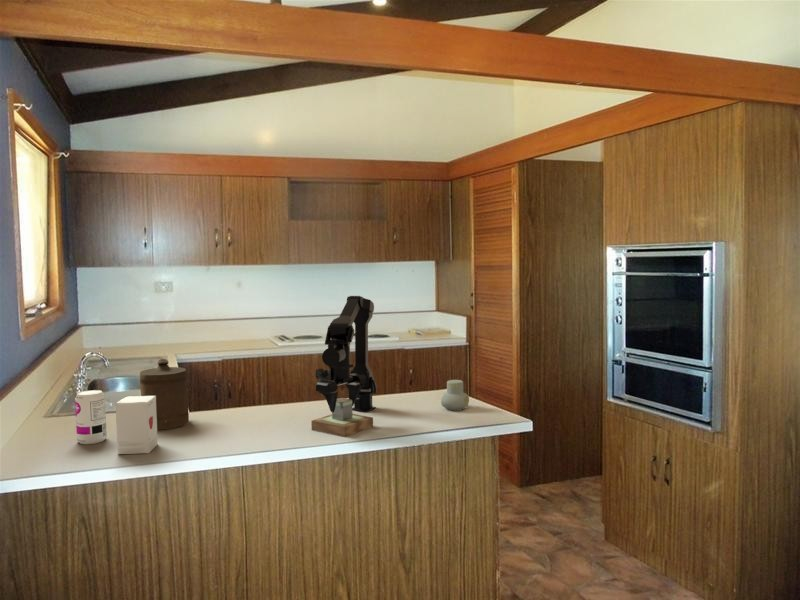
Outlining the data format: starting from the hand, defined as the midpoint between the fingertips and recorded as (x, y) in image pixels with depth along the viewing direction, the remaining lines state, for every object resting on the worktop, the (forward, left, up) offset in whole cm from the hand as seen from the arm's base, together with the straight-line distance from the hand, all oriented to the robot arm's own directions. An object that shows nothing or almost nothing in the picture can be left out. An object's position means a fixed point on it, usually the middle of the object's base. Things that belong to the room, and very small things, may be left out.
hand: (342, 409), depth 205 cm
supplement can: (+53, -55, -6) cm, 77 cm away
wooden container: (+29, -53, -6) cm, 61 cm away
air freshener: (-42, +17, -6) cm, 46 cm away
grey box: (0, 0, -3) cm, 3 cm away
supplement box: (+50, -35, -6) cm, 61 cm away
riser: (0, 0, -6) cm, 6 cm away
